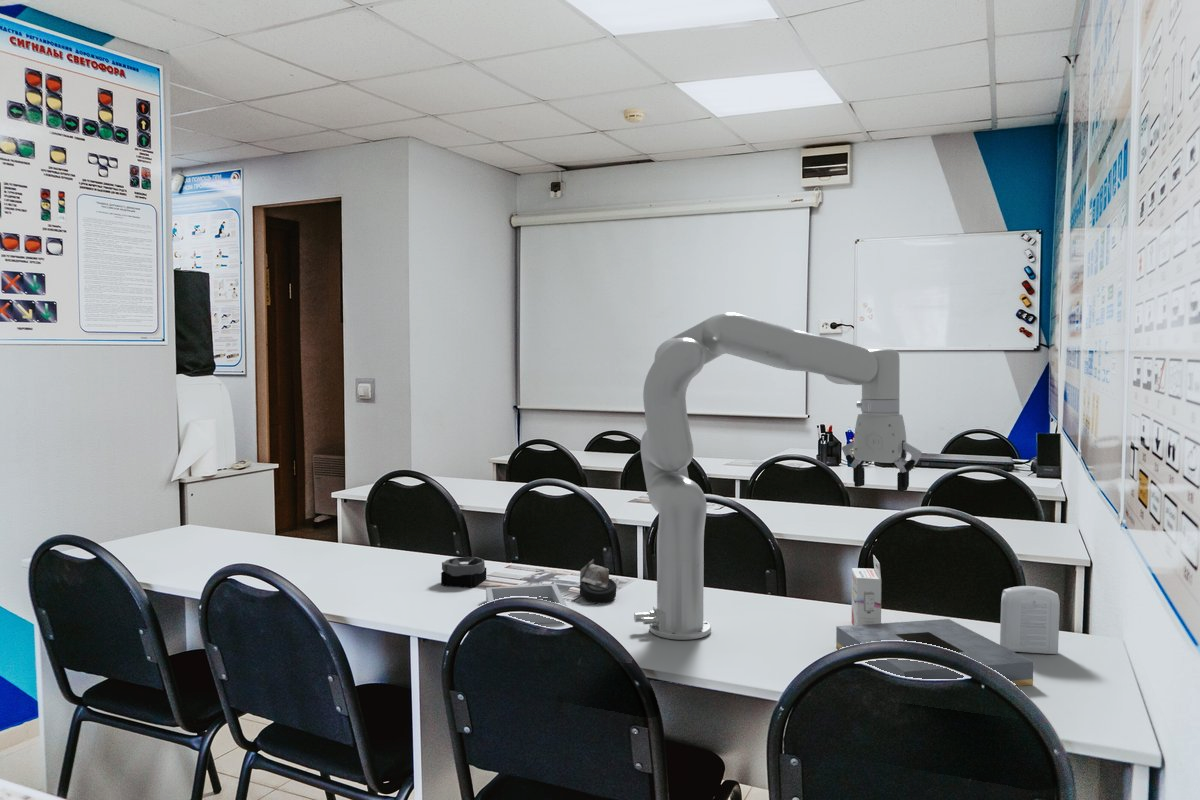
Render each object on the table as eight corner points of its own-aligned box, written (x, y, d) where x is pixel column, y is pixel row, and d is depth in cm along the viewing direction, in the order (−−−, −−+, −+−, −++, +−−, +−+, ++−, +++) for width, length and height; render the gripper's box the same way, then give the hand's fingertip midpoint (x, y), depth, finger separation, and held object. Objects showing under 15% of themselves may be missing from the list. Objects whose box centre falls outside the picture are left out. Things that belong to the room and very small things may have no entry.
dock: (903, 695, 136) (904, 671, 135) (836, 646, 159) (836, 626, 159) (1032, 684, 140) (1033, 661, 140) (948, 638, 164) (948, 618, 163)
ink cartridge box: (850, 621, 175) (850, 553, 174) (874, 622, 174) (875, 554, 173) (856, 634, 166) (856, 562, 166) (881, 636, 165) (882, 563, 165)
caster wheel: (605, 615, 188) (567, 603, 192) (627, 593, 198) (590, 582, 202) (606, 589, 186) (568, 577, 190) (628, 568, 196) (591, 557, 200)
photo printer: (1053, 648, 158) (1054, 584, 158) (1062, 656, 154) (1063, 590, 153) (996, 645, 160) (997, 582, 159) (1003, 653, 155) (1005, 588, 155)
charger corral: (490, 626, 172) (490, 612, 172) (486, 600, 191) (486, 587, 191) (568, 621, 175) (567, 607, 175) (556, 596, 194) (556, 584, 194)
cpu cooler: (490, 557, 211) (475, 566, 201) (490, 579, 211) (475, 589, 201) (453, 555, 213) (436, 564, 203) (453, 576, 213) (436, 587, 204)
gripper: (834, 407, 177) (834, 486, 178) (912, 409, 164) (912, 494, 165) (851, 405, 182) (852, 482, 183) (928, 408, 170) (928, 490, 170)
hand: (880, 488), depth 174 cm, fingers open, 9 cm apart
